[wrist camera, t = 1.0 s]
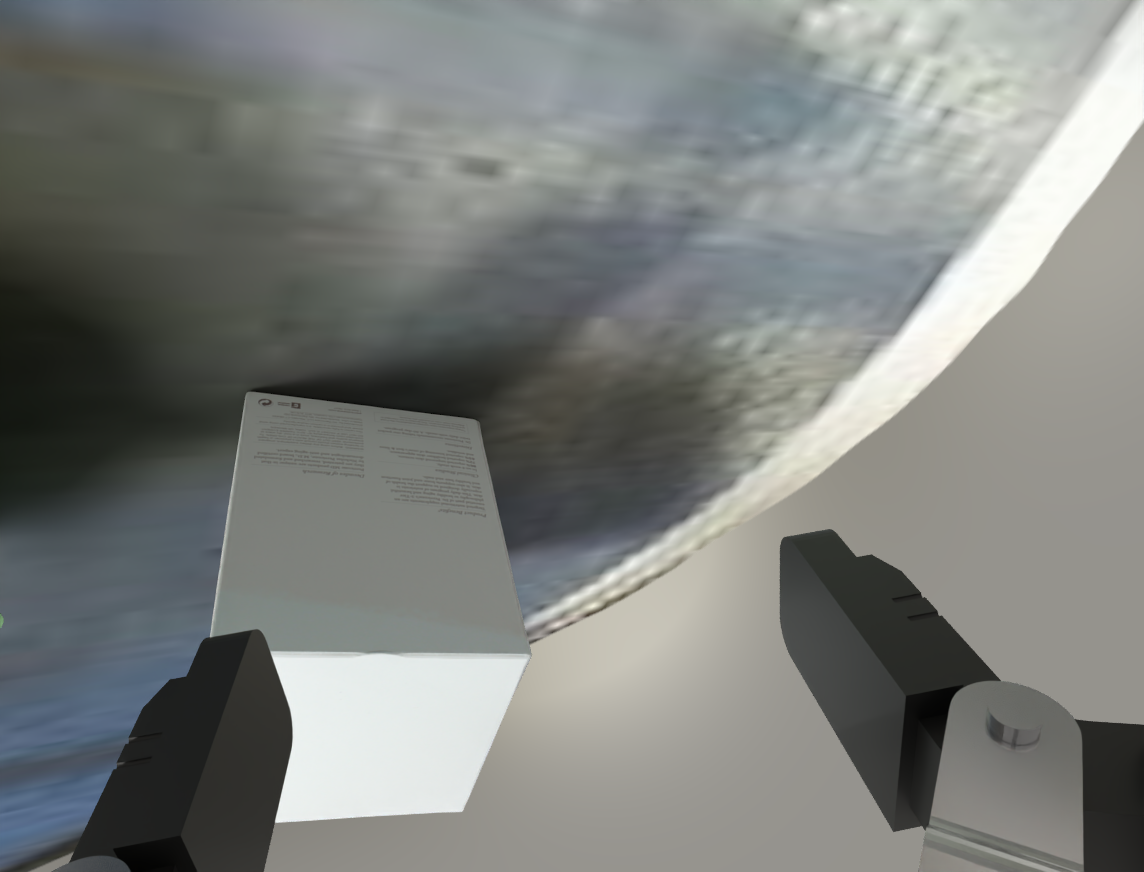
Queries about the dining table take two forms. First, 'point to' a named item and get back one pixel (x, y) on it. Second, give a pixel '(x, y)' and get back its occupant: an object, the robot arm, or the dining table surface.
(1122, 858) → the robot arm
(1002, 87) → the dining table surface
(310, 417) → the supplement box
